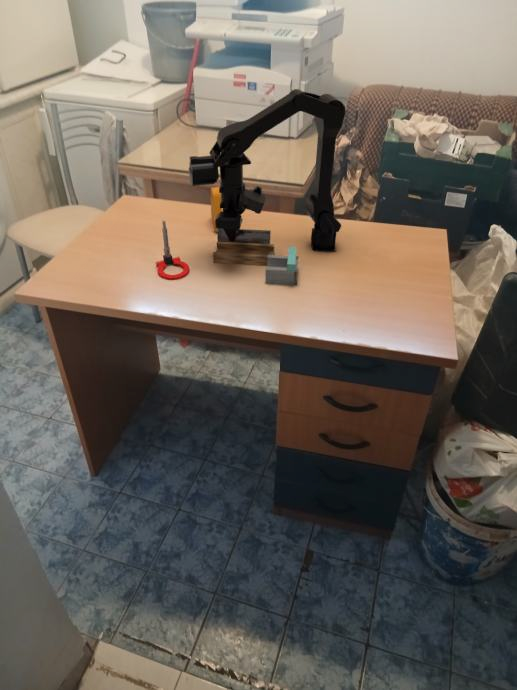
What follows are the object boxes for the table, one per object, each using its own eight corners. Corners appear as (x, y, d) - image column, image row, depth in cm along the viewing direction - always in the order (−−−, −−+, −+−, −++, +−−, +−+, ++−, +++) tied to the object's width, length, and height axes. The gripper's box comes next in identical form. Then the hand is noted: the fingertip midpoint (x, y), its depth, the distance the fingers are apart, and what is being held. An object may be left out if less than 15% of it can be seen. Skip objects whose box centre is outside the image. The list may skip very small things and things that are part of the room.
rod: (270, 239, 139) (270, 227, 137) (269, 246, 137) (269, 235, 134) (219, 237, 140) (219, 225, 137) (217, 244, 137) (217, 232, 135)
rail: (273, 252, 143) (274, 243, 142) (271, 266, 138) (272, 257, 136) (217, 249, 145) (217, 240, 143) (213, 262, 139) (212, 254, 137)
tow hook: (194, 277, 134) (182, 259, 140) (191, 233, 125) (178, 216, 131) (163, 284, 131) (152, 266, 137) (158, 240, 122) (146, 223, 129)
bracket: (239, 232, 153) (239, 194, 145) (215, 234, 152) (214, 195, 144) (234, 216, 161) (233, 179, 153) (211, 218, 160) (209, 181, 152)
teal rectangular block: (296, 253, 134) (296, 247, 133) (294, 271, 127) (295, 264, 126) (288, 253, 134) (288, 246, 133) (286, 271, 127) (287, 264, 126)
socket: (297, 270, 136) (298, 256, 133) (296, 285, 130) (297, 271, 128) (267, 268, 137) (268, 254, 134) (265, 283, 131) (265, 269, 128)
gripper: (260, 198, 120) (259, 256, 130) (266, 169, 134) (265, 224, 144) (213, 196, 121) (216, 254, 131) (224, 167, 135) (226, 222, 145)
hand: (233, 238), depth 138 cm, fingers closed on rod, 4 cm apart
